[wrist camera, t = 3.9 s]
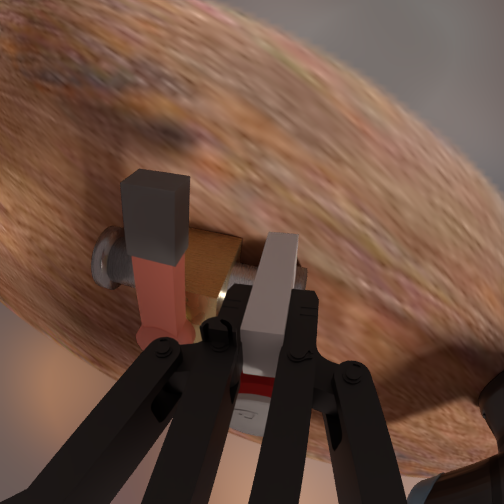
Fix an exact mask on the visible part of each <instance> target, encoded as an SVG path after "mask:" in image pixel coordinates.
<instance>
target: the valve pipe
mask: <svg viewBox="0 0 504 504" xmlns="http://www.w3.org/2000/svg"><path fill="white" fill-rule="evenodd" d="M241 246H242V238H239V237H234V236H229V235H224V234H220V233H215V232H210V231H205V230H200V229H196V228H191V227H189V242H188V248H187V250H186V251H185V305H186V319H187V320H188V321H189V322H190V323H191V324H192V325H193V327H194V329H195V332H196V337H195V340H194V342H193V343H198V342H200V341H202V338H201V333H200V328H199V327H200V325H201V324H202V322H204V321H205V320H207V319H208V318H211V317H215V316H218V313H219V311H220V308H221V305H222V303H223V300H224V298H225V295H226V292H227V290H228V289H229V288H230V287H231V286H232V285H233V284H234V283H237V284H246V285H253V284H254V280H255V277H256V274H257V270H258V267H255V266H251V265H246V264H242V263H239V262H240V254H241ZM91 271H92V276H93V279H94V281H95V283H96V284H97V285H99V286H101V287H104V288H107V289H111V290H114V289H116V288H118V287H119V286H120V285H121V284H123V285H126V286H130V287H133V288H136V286H135V279H134V272H133V265H132V257H131V256H130V255H127V248H126V240H125V231H124V228H121V227H116V226H110V227H108V228H106V229H105V230H104V231H103V232H102V233H101V235H100V236H99V238H98V240H97V242H96V244H95V247H94V250H93V254H92V261H91ZM306 281H307V268H304V267H300V266H296V275H295V283H294V289H299V290H305V287H306ZM136 293H137V292H136ZM140 317H141V316H140Z"/></svg>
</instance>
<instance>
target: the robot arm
mask: <svg viewBox="0 0 504 504" xmlns="http://www.w3.org/2000/svg"><path fill="white" fill-rule="evenodd" d="M298 235H299V234H289V233H278V232H269V233H268V236H267V239H266V243H265V246H264V250H263V253H262V257H261V260H260V263H259V267H258V270H257V274H256V277H255V280H254V284H253V285H246V284H237V283H234V284H233V285H232V286H231V287H230V288H229V289H228V290H227V292H226V295H225V298H224V300H223V303H222V305H221V308H220V311H219V313H218V316H215V317H211V318H208V319H207V320H205V321H204V322H202V324H201V325H200V327H199V328H200V333H201V338H202V341H200V342H198V343H193V344H182V345H180V344H179V343H178V341H177V340H175V339H174V338H170V337H160V338H157V339H155V340H153V341H152V342H151V343H150V344H149V345H148V346H147V347H146V348H145V350H144V351H143V352H142V353H141V354H140V355H139V356H138V358H137V359H136V360H135V361H134V362H133V363H132V365H131V366H130V367H129V368H128V369H127V370H126V372H125V373H124V374H123V375H122V376H121V377H120V379H119V380H118V381H117V382H116V383H115V384H114V386H113V387H112V388H111V389H110V390H109V391H108V393H107V394H106V395H105V396H104V397H103V398H102V400H101V401H100V402H99V403H98V404H97V406H96V407H95V408H94V409H93V410H92V411H91V413H90V414H89V415H88V416H87V418H86V419H85V420H84V421H83V422H82V423H81V424H80V426H79V427H78V428H77V429H76V431H75V432H74V433H73V434H72V435H71V436H70V438H69V439H68V440H67V441H66V443H65V444H64V445H63V446H62V447H61V449H60V450H59V451H58V452H57V453H56V454H55V456H54V457H53V458H52V459H51V461H50V462H49V463H48V464H47V465H46V467H45V468H44V469H43V470H42V472H41V473H40V474H39V475H38V476H37V478H36V479H35V480H34V481H33V482H32V484H31V485H30V486H29V487H28V489H26V490H24V491H22V492H20V493H18V494H16V495H14V496H12V497H10V498H8V499H6V500H4V501H2V502H0V504H110V502H111V501H112V500H113V499H114V497H115V496H116V495H117V493H118V492H119V491H120V489H121V488H122V486H123V485H124V484H125V482H126V481H127V480H128V478H129V477H130V476H131V474H132V473H133V472H134V470H135V469H136V468H137V466H138V465H139V463H140V462H141V461H142V459H143V458H144V457H145V455H146V454H147V453H148V451H149V450H150V448H151V447H152V446H153V444H154V443H155V442H156V440H157V439H158V437H159V436H160V435H161V433H162V432H163V430H164V429H165V427H166V426H167V425H168V423H169V422H170V420H171V419H172V418H173V419H172V422H171V425H170V427H169V430H168V432H167V435H166V438H165V440H164V443H163V446H162V448H161V451H160V454H159V457H158V459H157V462H156V465H155V467H154V470H153V473H152V475H151V478H150V481H149V483H148V486H147V489H146V492H145V494H144V497H143V500H142V502H141V504H208V502H209V498H210V495H211V491H212V487H213V484H214V480H215V477H216V473H217V470H218V466H219V463H220V459H221V455H222V452H223V448H224V444H225V441H226V437H227V433H228V430H229V426H230V422H231V419H232V415H233V411H234V407H235V404H236V400H237V396H238V392H239V388H240V376H241V372H242V368H243V373H245V374H252V375H259V376H266V377H274V378H275V380H274V385H273V390H272V396H271V401H270V406H269V411H268V416H267V421H266V426H265V430H264V435H263V440H262V445H261V449H260V454H259V459H258V464H257V468H256V472H255V477H254V481H253V485H252V490H251V494H250V498H249V502H248V504H299V498H300V491H301V485H302V479H303V471H304V465H305V458H306V451H307V443H308V435H309V427H310V418H311V409H312V408H313V409H315V410H317V411H320V412H322V414H323V419H324V424H325V429H326V435H327V440H328V445H329V451H330V456H331V462H332V467H333V473H334V479H335V485H336V491H337V496H338V502H339V504H504V371H503V372H502V373H501V374H499V375H498V376H497V377H496V378H494V379H493V380H492V381H491V382H490V383H489V384H488V385H487V386H486V387H485V389H484V390H483V391H482V393H481V395H480V397H479V401H478V402H479V407H480V412H481V415H482V416H483V418H484V419H485V420H486V422H487V424H488V426H489V428H490V429H491V431H492V433H493V434H494V436H495V438H496V440H497V445H498V454H496V455H494V456H492V457H489V458H487V459H484V460H482V461H479V462H477V463H474V464H471V465H468V466H465V467H462V468H460V469H456V470H453V471H450V472H447V473H444V472H443V473H440V474H439V475H437V476H434V477H431V478H428V479H425V480H422V481H420V482H419V483H417V484H416V485H415V486H414V487H413V489H412V490H411V492H410V494H409V495H408V498H407V500H406V496H405V492H404V487H403V483H402V479H401V475H400V471H399V468H398V464H397V460H396V456H395V453H394V449H393V446H392V442H391V438H390V435H389V432H388V428H387V425H386V421H385V418H384V415H383V411H382V408H381V405H380V402H379V399H378V395H377V392H376V389H375V386H374V383H373V380H372V377H371V374H370V372H369V370H368V368H367V367H366V366H365V365H363V364H362V363H360V362H357V361H345V362H342V363H341V364H336V363H334V362H331V361H329V360H327V359H325V358H324V357H322V356H321V355H320V353H319V352H318V350H317V347H316V338H317V323H318V305H319V299H318V297H317V295H316V293H315V291H310V290H299V289H294V283H295V275H296V262H297V249H298Z"/></svg>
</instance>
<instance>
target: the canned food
mask: <svg viewBox="0 0 504 504" xmlns="http://www.w3.org/2000/svg"><path fill="white" fill-rule="evenodd" d="M274 380H275V378H274V377H266V376H259V375H252V374H245V373H243V368H242V372H241V376H240V388H239V392H238V396H237V400H236V404H235V407H234V411H233V415H232V419H231V422H230V426H229V427H231V428H233V429H235V430H237V431H240V432H243V433H246V434H250V435H255V436H263V435H264V430H265V426H266V421H267V416H268V411H269V406H270V401H271V396H272V390H273V385H274Z"/></svg>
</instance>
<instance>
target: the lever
mask: <svg viewBox="0 0 504 504" xmlns="http://www.w3.org/2000/svg"><path fill="white" fill-rule="evenodd" d="M120 187H121V200H122V211H123V222H124V231H125V240H126V248H127V255H130V256H131V257H132V265H133V272H134V279H135V286H136V292H137V299H138V305H139V311H140V316H141V322H142V325H141V327H140V328H139V330H138V332H137V334H136V340H137V343H138V345H139V346H140V348H141V349H142V350H143V351H144V350H145V348H146V347H147V346H148V345H149V344H150V343H151V342H152V341H153V340H155V339H157V338H160V337H170V338H174V339H175V340H177V341H178V343H179V344H180V345H182V344H193V342H194V340H195V337H196V332H195V329H194V327H193V325H192V324H191V323H190V322H189V321H188V320H187V319H186V305H185V251H186V250H187V248H188V242H189V195H190V176H186V175H179V174H173V173H166V172H159V171H152V170H145V169H138V170H137V171H136V172H134V173H133V174H131V175H130V176H129V177H127V178H126V179H125V180H123V181H122V182H121V183H120Z"/></svg>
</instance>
